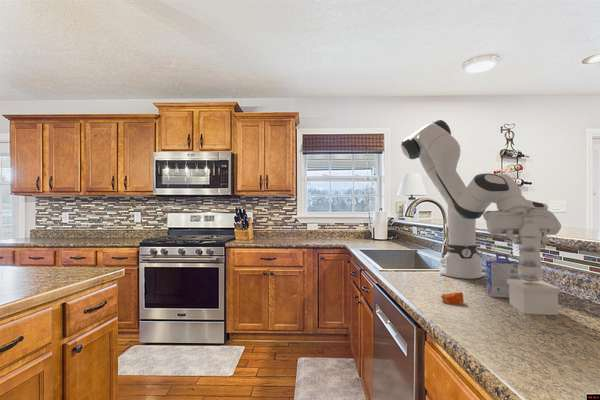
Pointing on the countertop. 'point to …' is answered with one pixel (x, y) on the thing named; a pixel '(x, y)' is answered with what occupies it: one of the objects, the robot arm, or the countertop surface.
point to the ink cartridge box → (500, 276)
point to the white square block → (533, 297)
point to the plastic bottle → (529, 250)
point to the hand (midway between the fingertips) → (531, 243)
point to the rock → (453, 298)
